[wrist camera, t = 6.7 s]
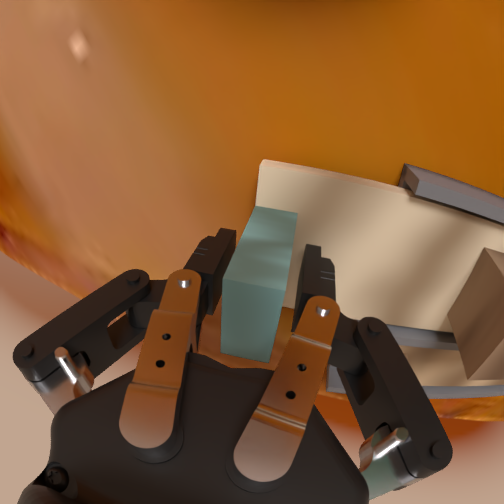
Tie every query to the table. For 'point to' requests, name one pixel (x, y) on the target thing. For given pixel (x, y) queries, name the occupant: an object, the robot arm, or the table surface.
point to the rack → (481, 204)
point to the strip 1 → (348, 253)
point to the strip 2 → (440, 367)
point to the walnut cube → (481, 318)
